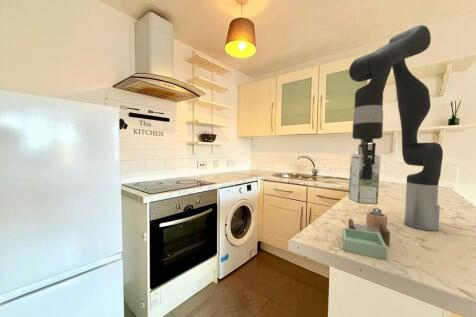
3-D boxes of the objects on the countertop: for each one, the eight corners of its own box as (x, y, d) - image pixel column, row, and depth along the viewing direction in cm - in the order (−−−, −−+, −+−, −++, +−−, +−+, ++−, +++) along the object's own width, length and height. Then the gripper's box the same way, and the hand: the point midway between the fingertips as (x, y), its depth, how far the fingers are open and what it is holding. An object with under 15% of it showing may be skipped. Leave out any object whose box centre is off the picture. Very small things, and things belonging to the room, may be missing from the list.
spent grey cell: (379, 227, 75) (380, 207, 75) (381, 229, 73) (382, 209, 72) (371, 225, 76) (371, 206, 76) (372, 228, 74) (373, 208, 73)
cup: (383, 228, 76) (384, 213, 76) (387, 234, 70) (388, 217, 70) (365, 225, 78) (366, 210, 78) (367, 231, 73) (368, 215, 73)
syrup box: (367, 199, 63) (369, 154, 62) (378, 205, 57) (380, 154, 56) (348, 199, 63) (350, 153, 63) (357, 204, 58) (359, 154, 57)
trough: (378, 244, 63) (379, 233, 63) (386, 259, 54) (387, 247, 54) (342, 237, 67) (342, 227, 67) (343, 250, 58) (344, 239, 58)
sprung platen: (377, 230, 70) (377, 227, 70) (381, 237, 63) (381, 234, 63) (354, 226, 73) (354, 223, 73) (356, 233, 66) (356, 230, 66)
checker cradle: (383, 235, 69) (384, 223, 69) (389, 245, 62) (389, 232, 62) (348, 229, 74) (348, 218, 74) (349, 238, 67) (350, 226, 67)
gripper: (388, 118, 51) (385, 182, 52) (377, 125, 64) (375, 176, 65) (355, 120, 54) (352, 180, 55) (351, 126, 67) (349, 174, 68)
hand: (365, 177), depth 60 cm, fingers closed on syrup box, 6 cm apart
